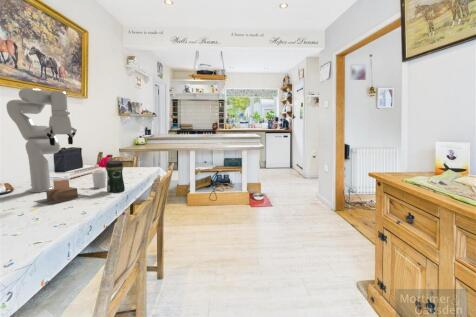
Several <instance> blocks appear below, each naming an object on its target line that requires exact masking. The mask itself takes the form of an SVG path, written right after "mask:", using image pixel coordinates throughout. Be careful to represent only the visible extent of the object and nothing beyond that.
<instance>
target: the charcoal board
mask: <svg viewBox="0 0 476 317" xmlns="http://www.w3.org/2000/svg"><path fill="white" fill-rule="evenodd" d="M87 197H89V195H88V194H87V195H86V194H81V193H78V198H73V199H69V200H65V201H61V202H56V201H51V200H47V198H44V199H43V198H42V199H39V200H34V201H33V203H38V204H42V205H49V206H54V205H55V206H56V205H59V204H63V203H67V202H72V201H74V200H80V199H83V198H87Z"/></svg>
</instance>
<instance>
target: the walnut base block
mask: <svg viewBox="0 0 476 317" xmlns="http://www.w3.org/2000/svg"><path fill="white" fill-rule="evenodd" d="M69 188H70V189H66V190H61V191H58V190H54V189H50V190H46V191H45V193H46V199H47V200H51V201H56V202H61V201H65V200H69V199H73V198H78V194H79V193H78V188H77V187H71V186H69Z"/></svg>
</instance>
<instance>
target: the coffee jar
mask: <svg viewBox="0 0 476 317" xmlns="http://www.w3.org/2000/svg"><path fill="white" fill-rule="evenodd" d="M123 170H124V164H123V161H122V160H110V161H106V162H105V171H106V179H107V180H106V191H107V193H111V194H112V193H120V192H123V191H125V182H124V177H123V175H124V174H123Z"/></svg>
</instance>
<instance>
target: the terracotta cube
mask: <svg viewBox="0 0 476 317" xmlns="http://www.w3.org/2000/svg"><path fill="white" fill-rule="evenodd" d="M52 182H53V183H52V184H53V187H54V190H58V191H61V190H66V189H70V188H69V187H70V180H69V178H60V179H59V178H58V179H54V180H53V181H52Z"/></svg>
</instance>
